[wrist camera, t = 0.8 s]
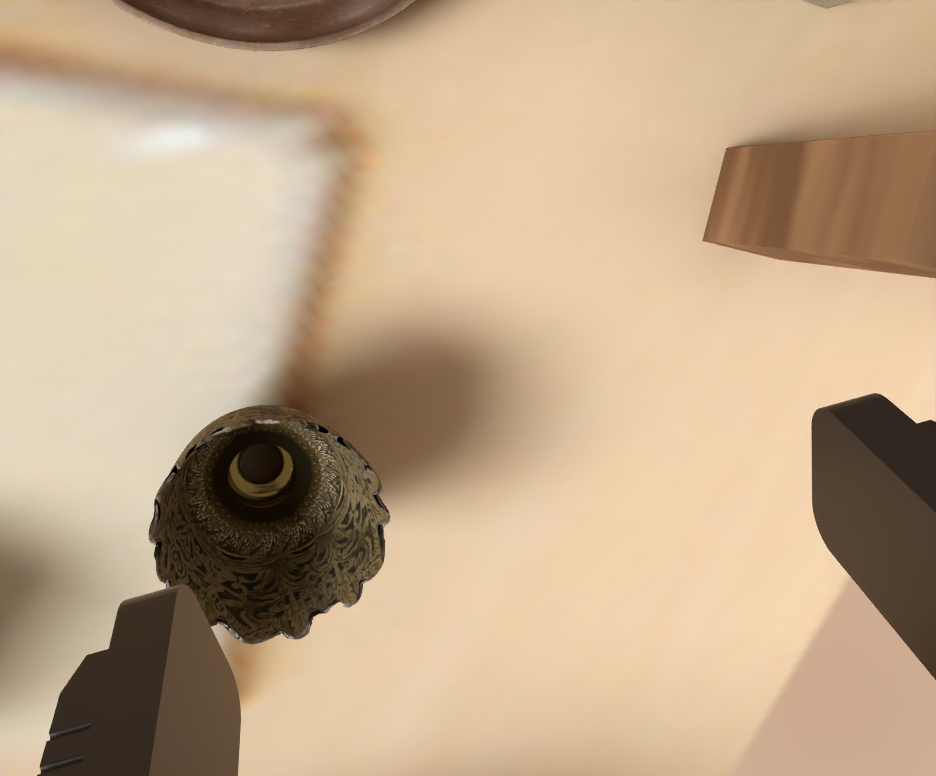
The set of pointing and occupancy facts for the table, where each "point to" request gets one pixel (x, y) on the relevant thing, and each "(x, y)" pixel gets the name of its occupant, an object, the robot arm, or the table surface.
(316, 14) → the plant saucer
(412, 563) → the table surface
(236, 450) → the cup
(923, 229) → the brown wooden bar
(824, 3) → the socket block
